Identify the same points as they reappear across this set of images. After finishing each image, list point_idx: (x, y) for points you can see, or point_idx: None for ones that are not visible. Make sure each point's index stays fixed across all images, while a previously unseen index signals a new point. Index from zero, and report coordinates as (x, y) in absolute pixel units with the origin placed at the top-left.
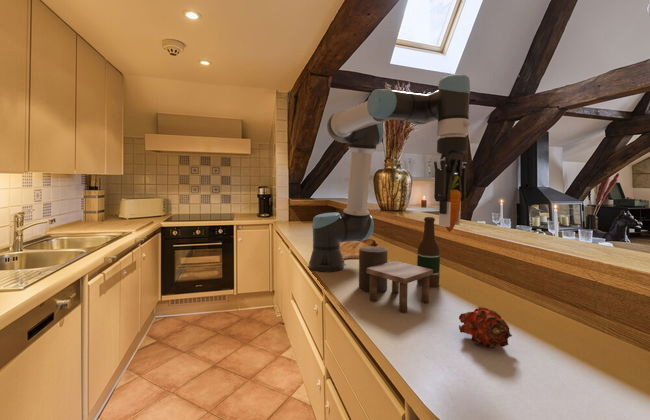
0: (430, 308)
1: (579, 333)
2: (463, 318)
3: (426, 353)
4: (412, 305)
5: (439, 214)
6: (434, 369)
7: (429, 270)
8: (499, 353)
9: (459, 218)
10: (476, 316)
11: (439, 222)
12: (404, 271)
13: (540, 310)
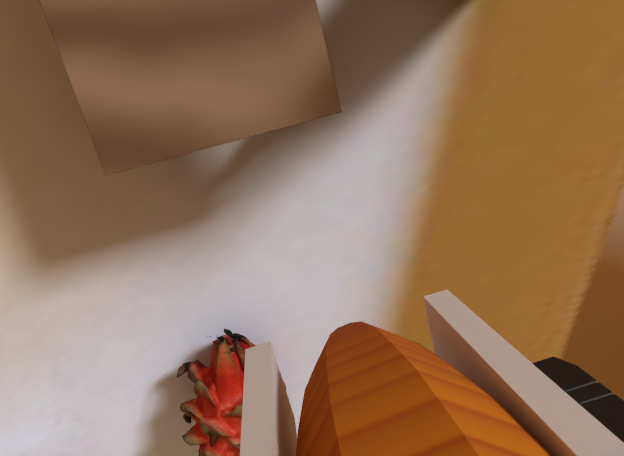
0: (270, 158)
1: None
2: (214, 357)
3: (64, 364)
4: None
5: (243, 419)
6: (39, 416)
7: (312, 118)
8: None
9: None
10: (200, 424)
11: (246, 370)
12: (180, 72)
13: (552, 306)
